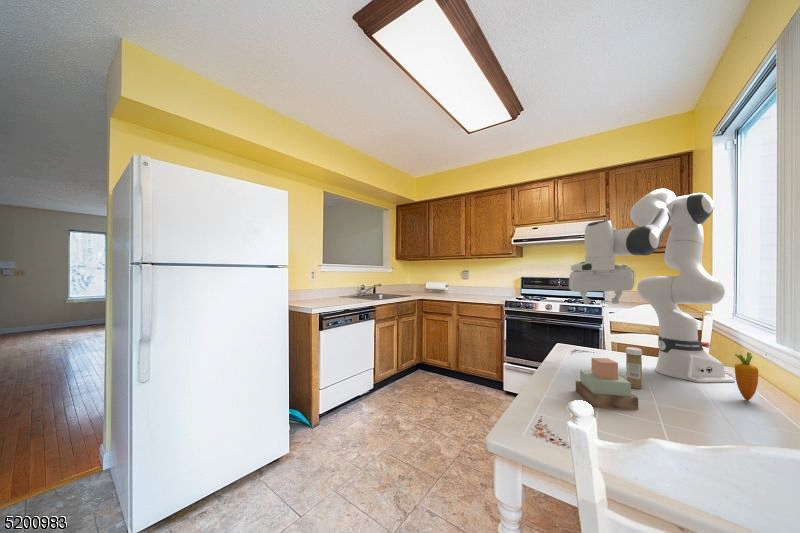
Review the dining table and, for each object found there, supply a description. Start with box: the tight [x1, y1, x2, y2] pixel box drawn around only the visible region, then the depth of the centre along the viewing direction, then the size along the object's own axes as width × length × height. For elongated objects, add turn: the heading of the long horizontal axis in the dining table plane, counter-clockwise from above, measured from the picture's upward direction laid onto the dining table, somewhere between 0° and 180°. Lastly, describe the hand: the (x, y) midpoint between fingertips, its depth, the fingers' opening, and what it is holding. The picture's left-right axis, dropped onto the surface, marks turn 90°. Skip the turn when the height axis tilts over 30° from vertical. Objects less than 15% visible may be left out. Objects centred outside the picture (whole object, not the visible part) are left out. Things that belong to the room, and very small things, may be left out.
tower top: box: [579, 369, 632, 397], centre depth 92 cm, size 10×10×4 cm
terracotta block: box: [590, 357, 619, 379], centre depth 92 cm, size 5×5×5 cm
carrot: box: [734, 351, 759, 401], centre depth 92 cm, size 5×5×15 cm
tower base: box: [575, 380, 639, 411], centre depth 92 cm, size 12×12×4 cm
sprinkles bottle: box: [625, 346, 644, 390], centre depth 103 cm, size 5×5×13 cm
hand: (601, 303), depth 105 cm, fingers open, 8 cm apart
